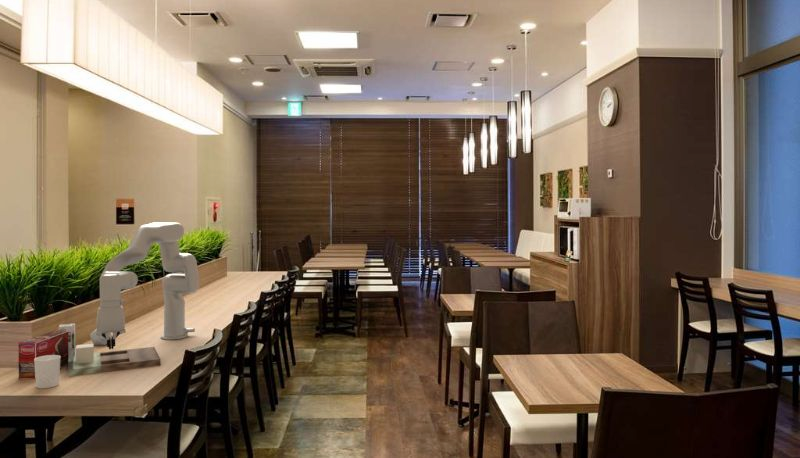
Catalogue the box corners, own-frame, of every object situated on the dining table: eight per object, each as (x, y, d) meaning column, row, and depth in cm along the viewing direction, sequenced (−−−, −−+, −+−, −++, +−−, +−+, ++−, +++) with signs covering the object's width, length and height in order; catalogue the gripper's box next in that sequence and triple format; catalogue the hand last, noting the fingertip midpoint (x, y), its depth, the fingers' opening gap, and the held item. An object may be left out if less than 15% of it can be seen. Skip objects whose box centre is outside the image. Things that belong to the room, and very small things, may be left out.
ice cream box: (36, 378, 200) (35, 343, 200) (18, 378, 200) (18, 342, 200) (68, 363, 220) (68, 331, 220) (52, 363, 220) (52, 331, 220)
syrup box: (58, 361, 223) (58, 326, 223) (59, 357, 229) (59, 323, 228) (74, 359, 226) (74, 325, 226) (75, 356, 231) (75, 322, 231)
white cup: (42, 382, 196) (42, 355, 195) (65, 382, 196) (64, 354, 196) (29, 389, 188) (29, 360, 187) (53, 389, 188) (52, 360, 188)
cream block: (93, 358, 219) (93, 343, 219) (93, 361, 214) (93, 346, 214) (76, 360, 216) (75, 345, 216) (76, 363, 211) (75, 348, 211)
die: (96, 348, 247) (110, 331, 250) (82, 338, 248) (96, 321, 251) (105, 351, 254) (119, 333, 257) (91, 341, 256) (105, 324, 259)
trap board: (154, 352, 239) (154, 340, 239) (160, 365, 219) (160, 351, 219) (69, 361, 223) (69, 348, 223) (68, 376, 203) (68, 361, 203)
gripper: (130, 301, 227) (130, 344, 228) (89, 304, 219) (90, 348, 220) (131, 304, 220) (132, 348, 221) (89, 307, 213) (90, 353, 214)
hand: (111, 348), depth 221 cm, fingers closed
